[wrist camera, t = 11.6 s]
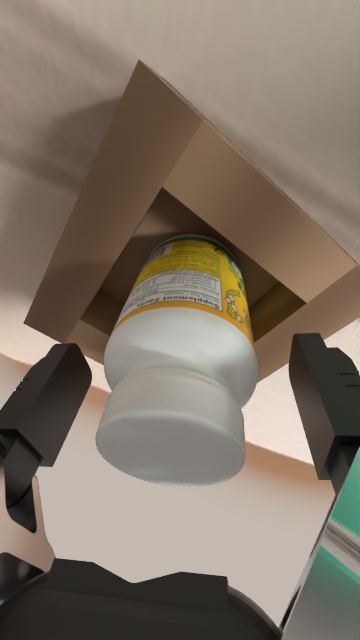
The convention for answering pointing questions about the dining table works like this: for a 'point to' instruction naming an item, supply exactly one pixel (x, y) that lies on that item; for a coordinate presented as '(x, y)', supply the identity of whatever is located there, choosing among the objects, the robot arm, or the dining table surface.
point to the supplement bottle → (180, 368)
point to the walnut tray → (189, 231)
